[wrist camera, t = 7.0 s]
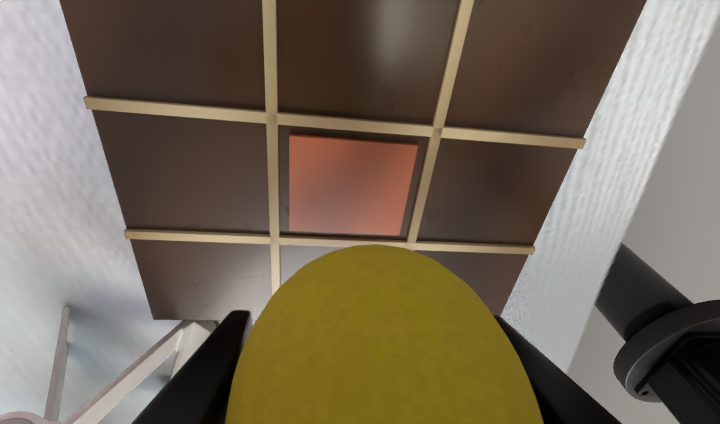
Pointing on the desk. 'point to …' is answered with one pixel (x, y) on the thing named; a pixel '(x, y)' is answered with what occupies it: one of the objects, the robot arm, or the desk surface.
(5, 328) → the desk surface
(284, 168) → the board
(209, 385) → the robot arm
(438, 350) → the lemon
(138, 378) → the tablet stand
